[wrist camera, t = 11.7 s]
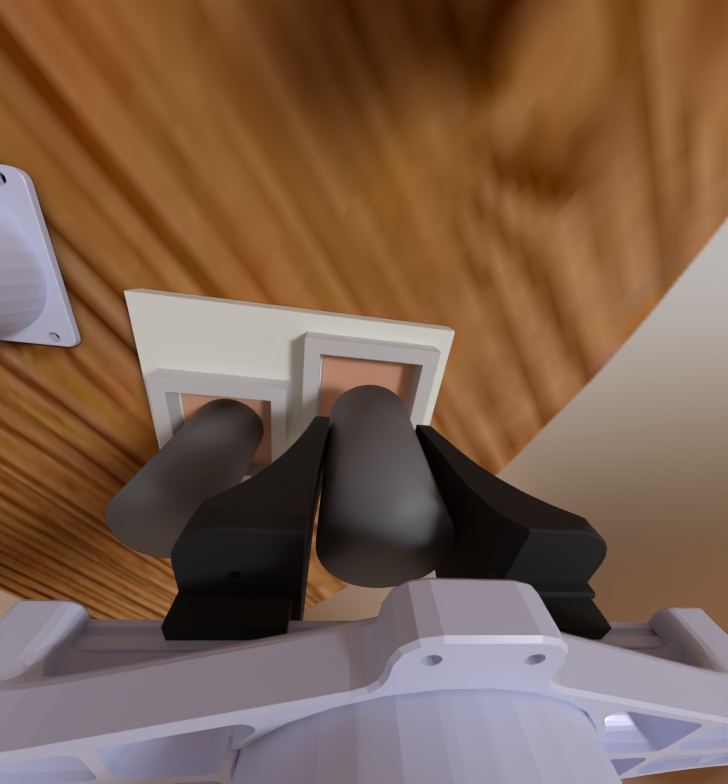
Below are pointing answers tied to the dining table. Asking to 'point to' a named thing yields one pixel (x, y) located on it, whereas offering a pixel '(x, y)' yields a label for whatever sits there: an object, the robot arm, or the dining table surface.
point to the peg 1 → (185, 476)
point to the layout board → (276, 362)
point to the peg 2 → (378, 495)
